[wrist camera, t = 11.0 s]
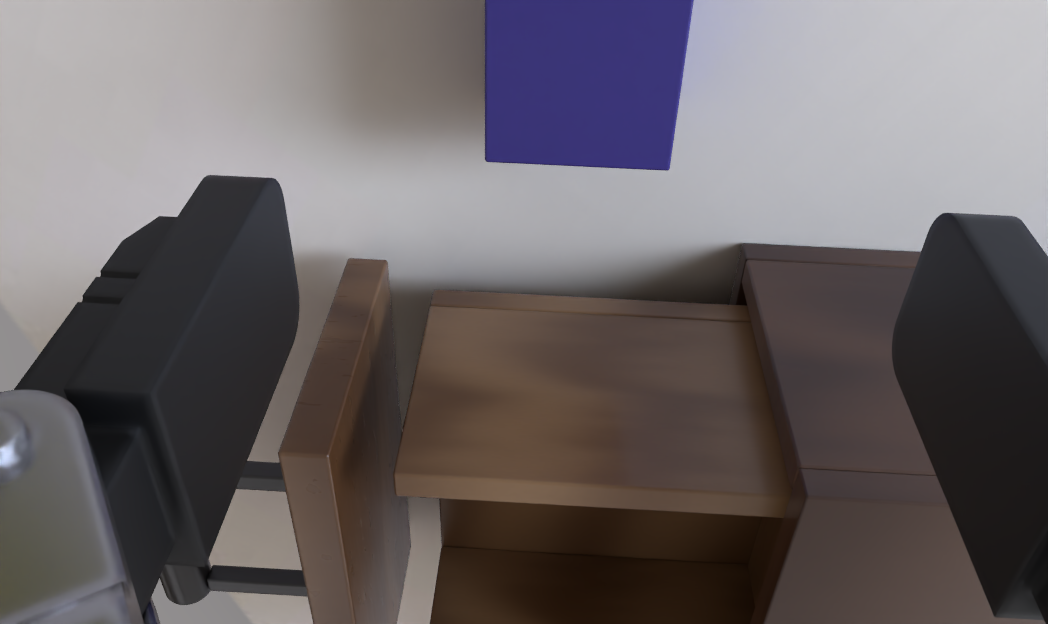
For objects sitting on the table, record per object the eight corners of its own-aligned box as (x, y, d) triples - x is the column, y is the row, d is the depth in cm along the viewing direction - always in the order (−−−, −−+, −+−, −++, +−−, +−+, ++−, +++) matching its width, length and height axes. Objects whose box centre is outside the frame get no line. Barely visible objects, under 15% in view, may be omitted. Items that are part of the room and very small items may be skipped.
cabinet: (676, 550, 36) (702, 807, 28) (741, 242, 27) (806, 497, 19) (1076, 573, 35) (1212, 840, 28) (1281, 269, 26) (1569, 541, 19)
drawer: (234, 534, 35) (159, 732, 29) (155, 247, 27) (26, 439, 20) (757, 565, 34) (795, 773, 28) (843, 282, 26) (924, 490, 20)
